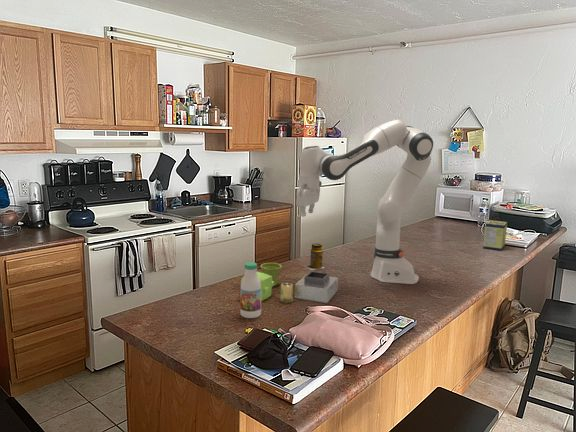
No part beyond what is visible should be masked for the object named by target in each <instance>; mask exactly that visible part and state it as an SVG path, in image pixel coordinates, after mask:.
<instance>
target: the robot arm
mask: <svg viewBox="0 0 576 432" xmlns="http://www.w3.org/2000/svg"><path fill="white" fill-rule="evenodd" d="M395 146H397V147H398V148H400V149H402V150H403V152H405V153H407V154H406V158H405V161H403V163H402V165H401V166H400V168H399V170H398V171H397V173H396V175H395V176H394V178H393V179H392V181H391V183H390V185H389V186H388V188H387V190H386V192H385V193H384V195H383V196H382V197H381V198H380V199H379V201H378V204H377V209H376V210H377V217H376V231H375V233H376V234H375V246H374V249H373V258H374V259H373V265H372V270H371V271H370V276H371V277H372V279H375V280H378V281H379V282H381V283H389V284H390V283H391V284H404V285H405V284H406V285H416V284H417V283H418V282H419V279H420V278H419V275H418V274H417V273H415V269H414V266H413V264H412V263H410V261H408V260H407V259H406V258H405V257H404V249H401V248H400V241H401V239H400V238H401V221H402V219H401V217H402V214H403V212H404V210H405V209H406V207H407V206H408V204H409V202H410V200H411V199H412V197H413V195H414V193H415V191H416V190H417V188H418V186H419V185H420V184H421V182H422V180H423V179H424V177H425V175H426V173H427V172H428V169H429V167H430V164H431V163H432V156H431V154H432V151H433V148H434V140H433V138H432V137H431V136H430V135H429V134H428V133H426V132H424V131H423V130H421V129H419V128H416V127H413V126H410V125H406V124H405V122H404V121H402V120H400V119H393V120H390V121H387V122H384V123H382V124H380V125H378V126H376V127H374V128H371V130H369V131H368V132H366V133H365V134H364V136H363V138H362V141H361V143H360V144H359V145H357V146H355V147H354V148H352V149H351V150H349V151H346V153H343V154H341V155H340V154H339V155H334V154H332V153H330V152H328V151H326V150H324V149H323V148H321V147H320V146H319V145H310V146H305V147H303V149H302V150H301V153H300V157H299V168H300V170H299V176H298V187H299V189H298V190H297V193H296V199H295V201H296V202H295V203H296V204H295V205H296V207H297V208H299V210H300V216H301V217H303V218H305V217H306V216H307V212H306V209H307V207H309V208H308V214H313V213H314V209H315V205H316V203H318V202H319V201H320V196H321V195H320V194H321V186H322V181H321V180H320V176H321V175H323V176H324V177H325V178H327V179H328V180H331V181H338V180H340V179H342V178H343V177H344V176H345V175H346V174H347V173H348V172H349V171H350V169H352V168H353V167H355V166H357V165H359V164H360V163H361V162H364V161H365V160H367V159H368V158H371V157H373V156H376V155H379V154H382V153H383V152H386V151H388V150H390V149H392V148H393V147H395Z"/></svg>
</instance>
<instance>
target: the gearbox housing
mask: <svg viewBox="0 0 576 432" xmlns="http://www.w3.org/2000/svg"><path fill="white" fill-rule="evenodd" d="M338 284H339V277H336V276H330V273H326V272H319V271H314V270H310V271H309V272H308V273H306V274H305V275H304V276H303V277H302V278H301V279H299V280H298V281H297V282H295V284H294V299H299V300H305V301H309V302H310V301H311V302H317V303H324V304H328V303H329V301H330V300H331V299H332V298H333V297H334V296H335V294H336V293H337V292H338V286H339V285H338Z"/></svg>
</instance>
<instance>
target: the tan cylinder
mask: <svg viewBox="0 0 576 432" xmlns="http://www.w3.org/2000/svg"><path fill="white" fill-rule="evenodd" d="M293 297H294V284H293V283H292V282H289V281H285V282H281V283H280V302H281V303H283V302H284V304H291V303H292V302H293V301H294V300H293V299H294V298H293ZM290 302H291V303H290Z"/></svg>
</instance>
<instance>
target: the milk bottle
mask: <svg viewBox="0 0 576 432" xmlns="http://www.w3.org/2000/svg"><path fill="white" fill-rule="evenodd" d="M244 270H245V271H244V272H245V273H244V275H243V277H242V278H243V279H242V282H241V281H240V294H239V295H240V298H239V299H240V300H239V301H240V315H241V317H242V318H244V319H245V318H246V319H255V318H259V317H260V316H261V314H262V301H261V283H260V280H259V278H258V275H257V272H258V271H257V270H258V263H256V262H251V261H249V262H246V263H244Z"/></svg>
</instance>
